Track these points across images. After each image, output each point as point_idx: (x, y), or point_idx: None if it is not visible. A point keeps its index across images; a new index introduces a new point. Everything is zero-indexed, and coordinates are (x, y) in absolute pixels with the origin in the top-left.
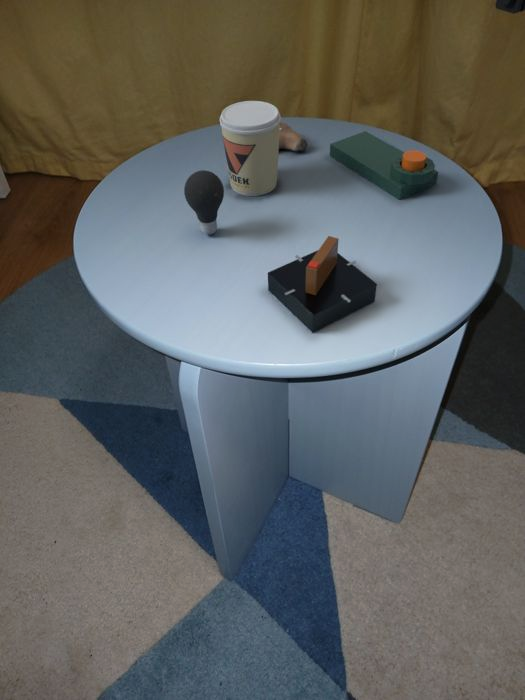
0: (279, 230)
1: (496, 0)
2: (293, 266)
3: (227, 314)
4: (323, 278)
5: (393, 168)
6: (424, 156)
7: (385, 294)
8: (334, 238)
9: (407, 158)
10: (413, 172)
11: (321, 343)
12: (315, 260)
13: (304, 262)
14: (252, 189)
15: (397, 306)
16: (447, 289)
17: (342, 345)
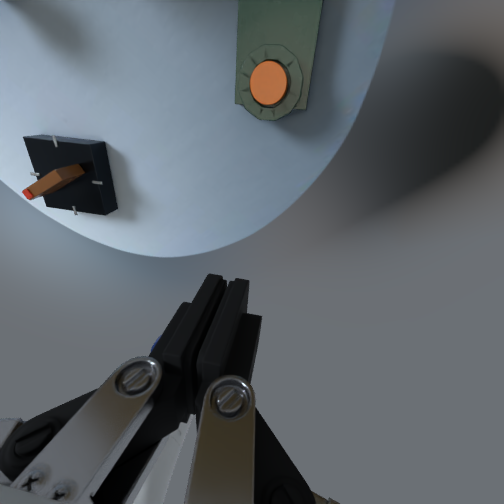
0: (79, 47)
1: (204, 280)
2: (47, 147)
3: (3, 136)
4: (59, 187)
5: (240, 69)
6: (277, 97)
7: (130, 208)
8: (58, 177)
9: (253, 81)
10: (250, 105)
11: (64, 211)
12: (32, 189)
13: (59, 149)
14: None
15: (130, 223)
16: (175, 237)
17: (77, 222)
